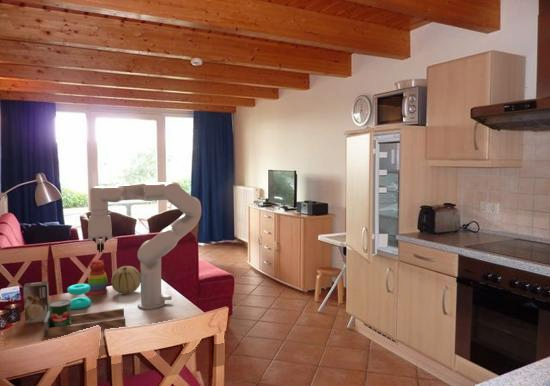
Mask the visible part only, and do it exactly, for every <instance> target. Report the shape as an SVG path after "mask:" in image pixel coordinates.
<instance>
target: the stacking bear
mask: <svg viewBox="0 0 550 386" xmlns="http://www.w3.org/2000/svg"><path fill="white" fill-rule="evenodd" d="M89 268H90V273H89V275H88V279H87V284H88V285H90V290H89V291H88V292H87V293H85V294H84V295H86V296H89V297H99V296H104V295H107V293H108V291H109V290H108V289H107V286H108V277H107V273H106V272H105V270H104V269H105V263H104V259H100V260H99V259H98V260H97V259H95V260H93V261H92V262H91V263H90V264H89Z"/></svg>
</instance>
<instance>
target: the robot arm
mask: <svg viewBox="0 0 550 386" xmlns="http://www.w3.org/2000/svg"><path fill="white" fill-rule="evenodd" d="M89 190H90V191H89V198H90V203H89V204H90V215H89V216H88V221H87V222H88V223H87V224H88V226H87V234H88V237H87V240H88V241H93V242H94V244H96V250H97V251H98V253H103V251H104V250H105V243H106V242H107V241H108V240H111V239H113V238H114V237H113V234H112V232H113V231H112V230H113V229H112V228H113V227H112V226H113V225H112V219H111V215H110V214H112V209H109V203H119V202H122V201H132V200H133V201H134V200H135V201H137V200H139V201H145V202H152V201H153V202H154V201H168V202H169V203H170V204H171V205H173V206H174V207H175V208H176V209H178V210H179V211H180V212H181V213H182V214H181V216H179V217H178V218H176V220H174V221H173V222H172V223H170V224H169V225H168V226H166V227H164V228H163V229H161V230H160V231H159V233H157V234H156V235H155V236H154V237H152V238H151V239H148V240H146V241H144V242H143V243H142V244H141V246H140V247H139V248H138V250H137V259H138V261H139V263H140V275H141V283H140V301H139V302H138V303H137V307H138V308H140V309H141V310H155V308H156V309H158V308H159V309H160V308H161V306H162V307H164V306H165V305H166V301H170V300H172V295H168V294H166V295H163V294H162V257H164V256H166V255H167V254H168V253H169V252H171V251H172V250H173V249H174V248H175V247H176V246H177V245H178V242H179V241H180V240H181V239H182V238H183V237H185V236H186V235H187V234H188V233H190V232H191V231H192V230H193V229H195V227H196V226H197V225H198V223H199V221H200V220H201V216H202V205H201V200H200V199H198V198H197V197H195V196H192V195H191V194H189V193H188V192H187V191H186V190H184V189H183V188H182V187H181V185H180V183H178V182H177V181H167V182H166V181H165V182H161V181H160V182H147V183H141V184H139V183H138V184H137V183H136V184H121V185H119V184H118V185H113V186H108V187H106V186H101V185H99V186H91V188H90V189H89ZM99 238H101V241H100V240H99ZM164 304H165V305H164ZM163 305H164V306H163Z"/></svg>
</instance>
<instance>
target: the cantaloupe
mask: <svg viewBox="0 0 550 386" xmlns="http://www.w3.org/2000/svg"><path fill="white" fill-rule="evenodd" d="M110 281H111V282H110V283H111V286H112V288H113V290H114V291H115V292H116V293H118V294H121V295H128V294H133V293H134V292H135V291H137V290H138V289H139V287H140V286H141V272H140V270H139V269H137V268H136V267H135V266H131V265H123V266H120V267H118V268H117V269H116V270H115V271H114V272H113V274H112V277H111V280H110Z"/></svg>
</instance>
